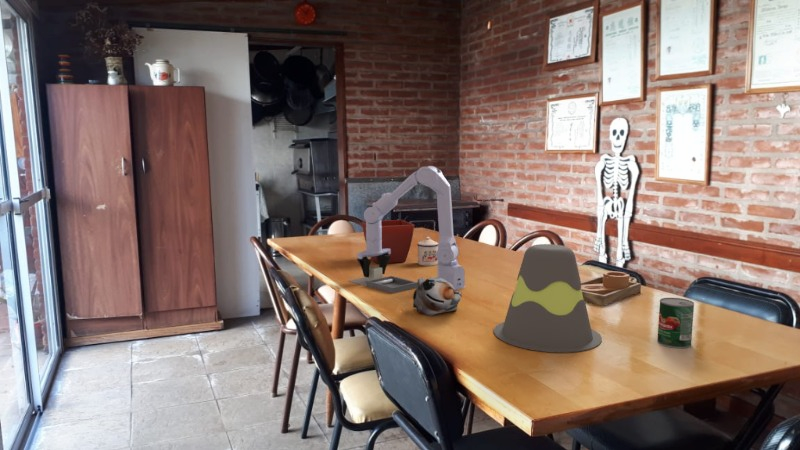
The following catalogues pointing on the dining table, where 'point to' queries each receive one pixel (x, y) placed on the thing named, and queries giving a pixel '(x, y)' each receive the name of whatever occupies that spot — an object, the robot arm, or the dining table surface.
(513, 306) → the grey brimmed hat
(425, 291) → the grey lumpy rounded piece
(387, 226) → the plant pot
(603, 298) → the fitting cradle
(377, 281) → the case
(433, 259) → the teacup with lid
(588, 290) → the brown cup and saucer
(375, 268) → the block
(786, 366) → the dining table surface
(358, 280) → the lid panel
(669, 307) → the canned tomato
